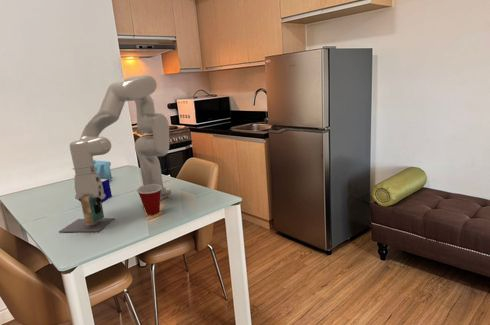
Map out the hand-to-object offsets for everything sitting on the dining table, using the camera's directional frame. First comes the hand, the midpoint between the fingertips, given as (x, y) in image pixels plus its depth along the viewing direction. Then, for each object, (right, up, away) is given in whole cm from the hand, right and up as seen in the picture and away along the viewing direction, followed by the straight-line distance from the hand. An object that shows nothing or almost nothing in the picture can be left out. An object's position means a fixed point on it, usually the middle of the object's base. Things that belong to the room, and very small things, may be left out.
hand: (93, 212), depth 145 cm
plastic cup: (+22, -2, +10) cm, 25 cm away
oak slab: (0, -4, +1) cm, 4 cm away
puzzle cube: (-13, +1, +37) cm, 39 cm away
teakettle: (-29, +8, +69) cm, 75 cm away
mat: (-3, -6, +2) cm, 7 cm away
